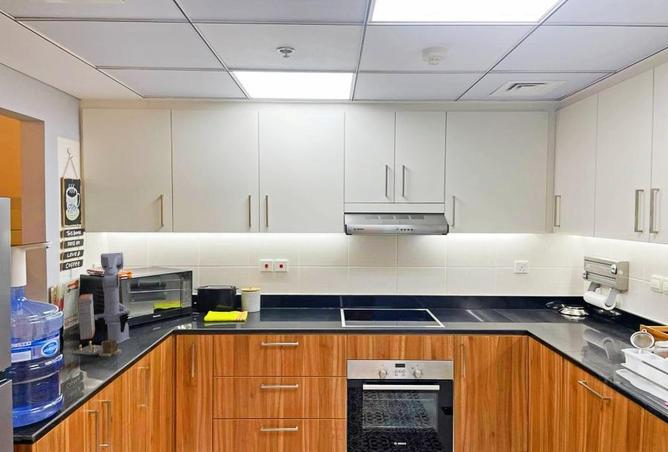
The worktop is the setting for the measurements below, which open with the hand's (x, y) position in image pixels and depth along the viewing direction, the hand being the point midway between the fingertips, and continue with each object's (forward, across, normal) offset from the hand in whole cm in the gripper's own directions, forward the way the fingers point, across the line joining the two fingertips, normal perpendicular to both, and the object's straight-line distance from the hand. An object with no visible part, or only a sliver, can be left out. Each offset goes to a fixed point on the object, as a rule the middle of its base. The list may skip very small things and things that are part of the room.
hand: (113, 333), depth 196 cm
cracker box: (+6, +4, +50) cm, 50 cm away
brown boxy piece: (+10, +1, +9) cm, 13 cm away
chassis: (+9, -3, +20) cm, 22 cm away
